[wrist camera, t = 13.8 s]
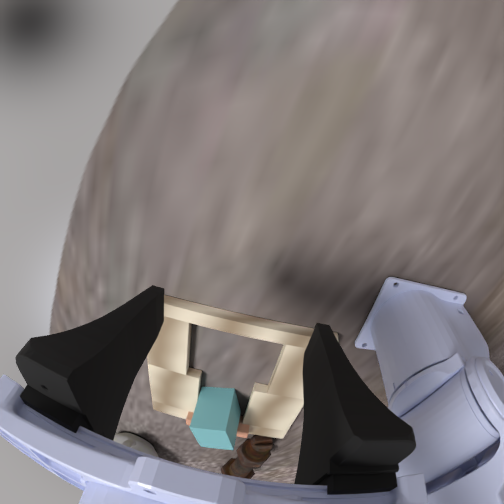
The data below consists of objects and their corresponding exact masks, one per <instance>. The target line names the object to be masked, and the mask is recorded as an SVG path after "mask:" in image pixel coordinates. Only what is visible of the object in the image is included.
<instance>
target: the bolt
mask: <svg viewBox="0 0 504 504" xmlns="http://www.w3.org/2000/svg"><path fill="white" fill-rule="evenodd" d="M272 443H273V440H272V438H271V437H267V436H261V435H254V436H253V437H252V438H251V439H247V440H246V441H245V442H244V443H243V444H242V445H241V446H240V447H239V448H238V449H237V454H238V457H237V458H236V459H234V458H231V459H230V460H229V461H228V462H227V463H226V464H225V465H224V466H223V467H222V468H221V472H222V474H224V475H229V476H235V477H240V478H247V479H251V478H252V476H253V475H254V474H255V473H254V471H253V468H254V467H260V466H261V465H262V464H263V463H264V462H265V461H266V460H267V459H268V458H269V456H270V455H271V453H270V450H271V449H272V447H273V444H272Z"/></svg>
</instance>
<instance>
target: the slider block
mask: <svg viewBox="0 0 504 504" xmlns="http://www.w3.org/2000/svg"><path fill="white" fill-rule="evenodd" d="M240 413H241V410H240V406H239V403H238V399H237V395H236V392H235V389H232V388H215V387H201V391H200V394H199V397H198V400H197V404H196V407H195V410H194V413H193V417H192V420H191V423H190V429H191V431H192V433H193V434H194V436H195V438H196V439H197V441H198V443H199V444H200V446H201V447H209V448H217V449H227V450H234V445H235V440H236V435H237V429H238V424H239V419H240Z"/></svg>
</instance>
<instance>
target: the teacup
mask: <svg viewBox="0 0 504 504" xmlns="http://www.w3.org/2000/svg"><path fill="white" fill-rule="evenodd" d="M113 441H115V442H117V443H120V444H122V445H125V446H127V447H130V448H133V449H135V450H138V451H141V452H144V453H147V454H150V455H152V456H156V457H158V454H157V453H156V451H155V449H154V447H153V446H152V445H151V444H150V443H149V442H147V441H146V440H144V439H142V438H141V437H138V436H136V435H134V434H131V433H126V432H125V433H118V434H115V436H114V440H113Z"/></svg>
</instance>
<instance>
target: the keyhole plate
mask: <svg viewBox="0 0 504 504" xmlns="http://www.w3.org/2000/svg"><path fill="white" fill-rule="evenodd" d="M192 324H196V325H199V326H203V327H207V328H212V329H216V330H220V331H224V332H228V333H233V334H237V335H242V336H246V337H251V338H255V339H260V340H265V341H270V342H275V343H280V344H284V345H283V347H282V350H281V353H280V356H279V358H278V361H277V364H276V366H275V369H274V371H273V374H272V377H271V379H270V382H269V384H268V385H265V384H259V383H255V384H254V387H253V390H252V393H251V396H250V399H249V402H248V405H247V408H246V410H245V413H244V416H240V419H239V424H238V429H237V435H236V436H239V437H244V438H247V436H248V433H249V434H255V435H261V436H267V437H274V438H281V439H283V437H284V436H285V434H286V433H287V431H288V430H289V428H290V426H291V425H292V423H293V422H294V420H295V419H296V417H297V415H298V414H299V412H300V410H301V409H302V407H303V405H304V398H303V372H302V371H303V359H304V352H305V350H306V347H307V345H308V343H309V340H310V338H311V336H312V333H313V331H314V328H308V327H303V326H298V325H293V324H287V323H282V322H278V321H273V320H268V319H263V318H258V317H254V316H249V315H245V314H240V313H236V312H231V311H227V310H223V309H219V308H214V307H210V306H206V305H202V304H198V303H194V302H190V301H186V300H182V299H178V298H175V297H171V296H167V295H164V322H163V325H162V327H161V330H160V332H159V335H158V337H157V339H156V341H155V343H154V344H153V346H152V348H151V350H150V352H149V353H148V355H147V360H148V370H149V379H150V387H151V395H152V402H153V409H154V410H157V411H160V412H163V413H167V414H170V415H173V416H177V417H180V418H184V419H186V424H187V425H190V423H191V420H192V417H193V413H194V410H195V407H196V404H197V400H198V397H199V394H200V385H201V375H202V371H201V370H198V369H194V368H190V367H189V358H190V342H191V328H192ZM333 333H334V335H335V337H336V339H337V341H338V342H339V340H338V334H337V333H336V332H333Z"/></svg>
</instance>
